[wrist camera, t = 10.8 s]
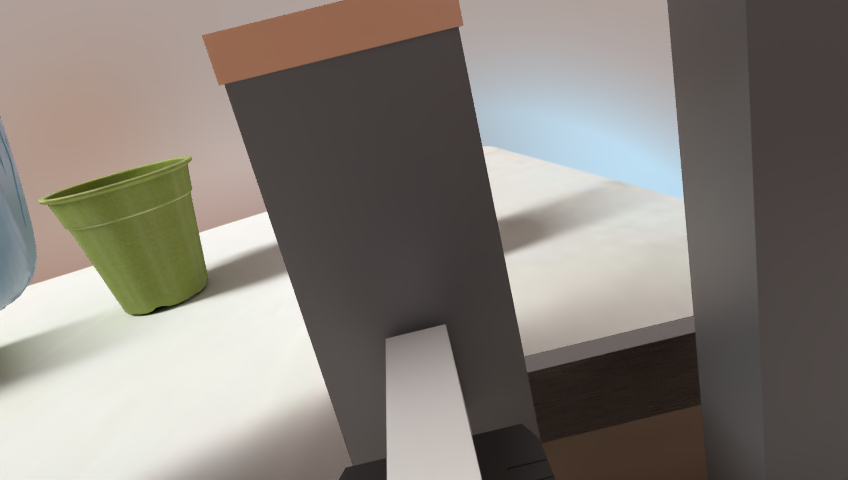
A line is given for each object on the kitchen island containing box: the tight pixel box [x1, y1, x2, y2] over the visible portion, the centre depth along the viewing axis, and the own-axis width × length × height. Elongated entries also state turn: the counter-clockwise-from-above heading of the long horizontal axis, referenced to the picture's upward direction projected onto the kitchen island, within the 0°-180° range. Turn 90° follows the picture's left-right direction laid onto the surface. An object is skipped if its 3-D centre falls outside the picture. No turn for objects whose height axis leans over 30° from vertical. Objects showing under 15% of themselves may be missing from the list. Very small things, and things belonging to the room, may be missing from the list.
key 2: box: [202, 0, 541, 466], centre depth 15 cm, size 3×5×15 cm, turn 95°
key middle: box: [667, 0, 848, 480], centre depth 12 cm, size 3×5×15 cm, turn 95°
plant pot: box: [38, 156, 208, 315], centre depth 49 cm, size 12×12×11 cm
